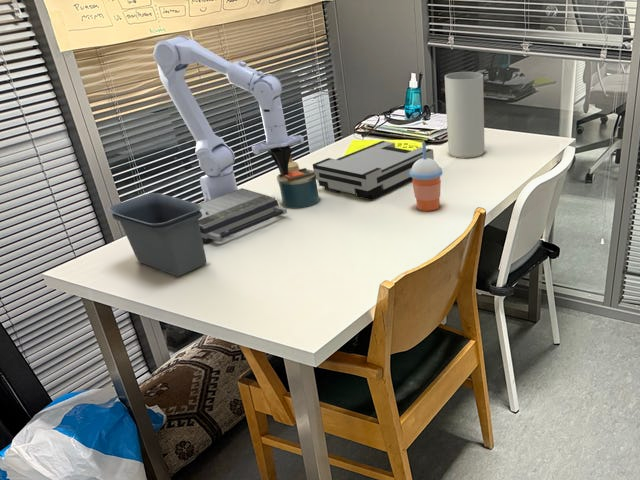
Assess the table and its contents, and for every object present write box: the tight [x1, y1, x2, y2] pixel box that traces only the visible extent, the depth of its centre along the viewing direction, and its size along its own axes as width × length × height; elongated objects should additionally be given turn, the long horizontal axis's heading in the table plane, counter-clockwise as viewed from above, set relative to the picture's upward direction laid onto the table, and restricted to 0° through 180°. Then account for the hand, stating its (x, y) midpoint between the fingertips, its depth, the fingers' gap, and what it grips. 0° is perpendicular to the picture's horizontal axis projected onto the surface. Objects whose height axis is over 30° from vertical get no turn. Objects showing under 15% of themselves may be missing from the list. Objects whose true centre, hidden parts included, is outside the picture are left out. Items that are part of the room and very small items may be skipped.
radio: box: [198, 187, 288, 244], centre depth 177 cm, size 24×5×20 cm
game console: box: [312, 140, 435, 201], centre depth 202 cm, size 21×32×8 cm, turn 147°
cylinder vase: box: [444, 71, 486, 159], centre depth 219 cm, size 12×12×25 cm
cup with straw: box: [409, 142, 443, 212], centre depth 180 cm, size 9×9×18 cm
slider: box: [284, 170, 304, 178], centre depth 186 cm, size 4×4×2 cm
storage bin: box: [107, 192, 207, 277], centre depth 156 cm, size 21×16×14 cm
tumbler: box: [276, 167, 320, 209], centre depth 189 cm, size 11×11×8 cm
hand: (284, 174), depth 184 cm, fingers closed
